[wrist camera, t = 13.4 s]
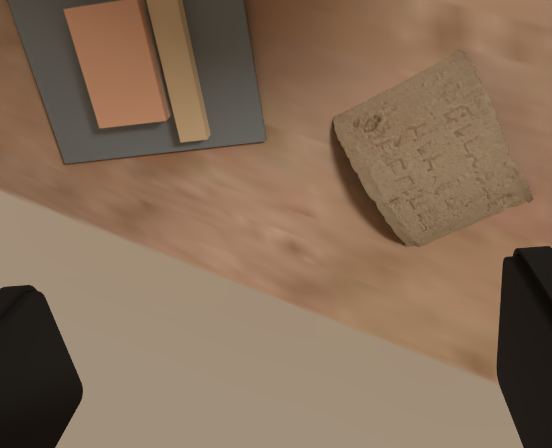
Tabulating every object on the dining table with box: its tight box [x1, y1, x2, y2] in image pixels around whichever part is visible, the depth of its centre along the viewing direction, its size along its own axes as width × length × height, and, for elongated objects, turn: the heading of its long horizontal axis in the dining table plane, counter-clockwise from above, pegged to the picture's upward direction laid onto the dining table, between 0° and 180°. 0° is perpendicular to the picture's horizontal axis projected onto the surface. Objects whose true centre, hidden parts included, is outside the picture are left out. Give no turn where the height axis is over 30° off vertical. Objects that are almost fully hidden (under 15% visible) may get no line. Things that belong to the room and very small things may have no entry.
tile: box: [63, 0, 172, 129], centre depth 35 cm, size 8×2×5 cm
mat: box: [7, 0, 266, 164], centre depth 35 cm, size 18×16×2 cm
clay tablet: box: [333, 49, 533, 247], centre depth 37 cm, size 14×10×3 cm
